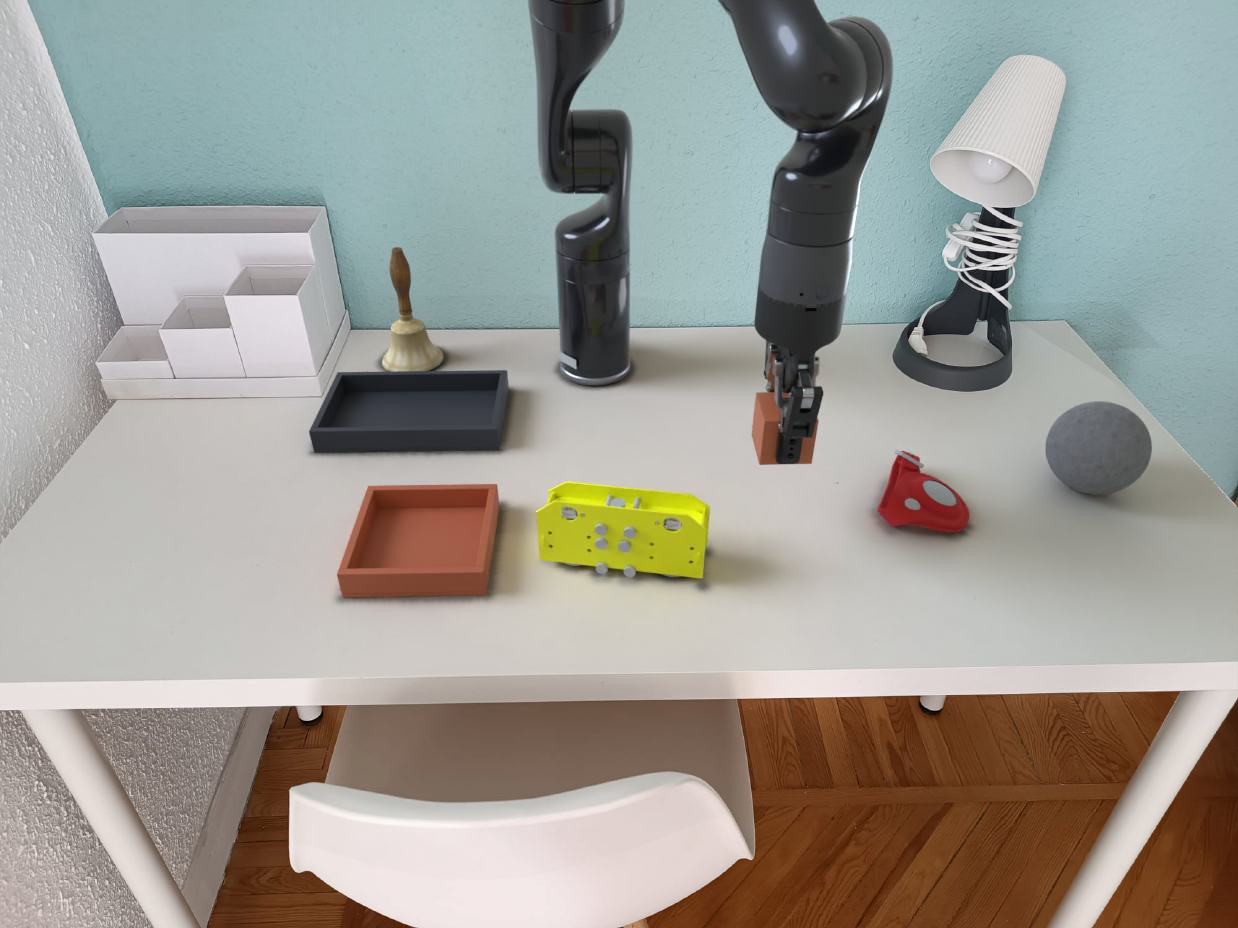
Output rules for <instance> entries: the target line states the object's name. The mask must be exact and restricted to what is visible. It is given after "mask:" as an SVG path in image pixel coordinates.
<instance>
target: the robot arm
mask: <svg viewBox="0 0 1238 928" xmlns="http://www.w3.org/2000/svg"><path fill="white" fill-rule="evenodd" d="M717 2H718V4H720V6H721V8H722V9H723V10H724V12H725V14H726V15H728V17H729V18H730V20H731V22H732V25H733V28H734V31H735V35H736V37H737V41H738V43H739V46H740V49H741V51H742V53H743V56H744V59H745V61H746V64H747V67H748V69H749V71H750V74H751V77H752V79H753V81H754V82H753V83H754V84H755V87H756V89H757V90H758V93H759V95H760V96H761V98H762V100H763V102H764V103H765V105H766V106H767V108H768V109H769V110H770V112H772V114H773V115H774V116H775V117H776V118H777V119H778V120H779V121H780V122H782V123H783V124H784V125H785V126H786V127H788V128H789V129H791V130H793V131H795V132H796V135H795V138H794V142H793V144H792V146H791V147H790V149H789V150H788V151H787V153H786V154H785V155H784V156H783V157H782V158H781V159H780V160H779V162H778V163H777V165H776V166H775V169H774V172H773V175H772V179H771V185H770V193H769V202H768V203H769V204H768V211H767V212H768V213H767V222H766V231H765V236H764V240H763V244H762V248H761V253H760V263H759V272H758V281H757V282H758V283H757V291H756V301H755V302H756V303H755V304H756V305H755V312H754V323H753V324H754V325H753V326H754V330H755V331H756V333H757V334H758V335H759V336H760V337H761V338H762V339H763V340H765V357H764V358H765V359H764V369H763V376H764V379H765V380H766V381H767V383H766V386H765V390H766V391H765V392H774V403H775V404H776V405H777V407H778V408H779V423H778V429H779V430H778V437H777V445H776V453H775V458H776V462H777V463H778V464H779V465H797V464H796V463H798V462H799V460H800V455H801V448H802V441H803V438H812V436H813V433H814V428H815V424H816V421H817V417H818V416H819V413H820V409H821V405H822V402H823V397H824V395H825V394H824V390H823V387H822V386H821V385H817V383H816V382H817V378H818V377H819V375H820V357H819V356H818V355H816V353H817V352H818V351H819V350H820V349H822V348H824V347H826V346H829V345H831V344H832V343H833V342H835V341H836V340H837V339H838V338H839V336H840V335H841V332H842V326H843V319H844V313H845V309H846V301H847V295H848V289H849V282H850V278H851V272H852V265H853V246H854V245H853V244H854V242H853V241H854V233H855V228H856V222H857V214H858V210H859V209H858V208H859V204H860V197H861V196H860V195H861V186H862V182H863V181H862V180H863V176H864V174H865V170H866V169H867V166H868V164H869V162H870V159H871V156H872V154H873V151H874V148H875V145H876V141H877V138H878V137H879V136H878V135H879V133H880V130H881V128H882V124H883V121H884V117H885V115H886V111H887V107H888V104H889V102H890V101H889V100H890V97H891V94H892V93H891V92H892V86H893V80H894V79H893V78H894V58H893V57H894V56H893V52H892V51H893V50H892V47H891V44H890V40H889V39H888V37H887V35H886V33H885V32H884V30H883V29H882V28H881V27H880V26H879V25H878V24H876V22H874V21H872V20H871V19H869V18H866V17H863V16H854V15H852V16H851V15H849V16H844V17H839V18H835V19H833V20H830V21H826V19H825V18H824V16H823V14H822V12H821V11H820V9H819V7H818V5H817V3H816V1H815V0H717ZM625 3H626V0H527V6H528V12H529V22H530V23H529V24H530V29H531V31H530V32H531V36H532V37H531V38H532V39H531V40H532V47H533V57H534V63H535V64H534V65H535V79H536V127H537V128H536V132H537V133H536V134H537V135H536V136H537V140H536V141H537V142H536V143H537V160H538V168H539V172H540V177H541V181H542V182H543V184H544V186H545V188H546V189H547V190H549V191H550V192H551V193H554V194H560V195H601V194H602V196H601V197H600V198H599V199H598V200H597V201H596V202H594V203H593V204H591V205H589V206H588V207H586V208H584V209H581V210H578V211H576V212H573V213H572V214H569V215H567V216H565V217H563V218H562V219H561V220H560V221H559V222H558V223H557V224H556V226H555V228H554V249H555V267H556V268H555V269H556V270H555V271H556V288H557V306H558V307H557V311H558V327H559V369H560V373H561V375H562V376H563V377H564V378H565V379H567V380H569V381H570V382H572V383H575V384H579V385H584V386H604V385H606V386H607V385H610V384H613V383H616V382H618V381H621V380H623V379H624V378H625V377H626V376H628V374H629V373H630V371H631V358H630V345H631V343H630V342H631V331H630V330H631V224H630V223H631V222H630V221H631V220H630V219H631V217H630V216H631V215H630V214H631V212H630V211H631V188H632V186H631V185H632V174H633V173H632V172H633V151H634V140H633V137H634V136H633V128H632V124H631V120H630V117H629V116H628V115H627V113H626V111H624V110H622V109H618V108H599V109H598V108H593V109H589V108H587V109H586V108H585V109H570V108H571V105H572V102H573V101H574V98H575V96H576V95H577V93H578V91H579V89H580V87H582V85H583V83H585V81H586V79H587V78H588V77H589V76H590V74H591V73H592V72H593V71H594V70H595V69H596V67H597V66H598V65H599V63H600V62H601V61H602V60H603V59H604V57H605V56H606V54H607V53H608V52H609V50H610V48H611V47H612V45H613V43H615V40H616V39H617V37H618V35H619V33H620V30H621V28H622V25H623V22H624V17H625V5H626V4H625ZM783 393H789V397H783Z"/></svg>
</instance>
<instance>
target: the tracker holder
mask: <svg viewBox="0 0 1238 928" xmlns="http://www.w3.org/2000/svg"><path fill="white" fill-rule="evenodd" d="M894 454H895V455H896V457H895V459H894V461H893V463H892V466H891V469H890V475H889V478H888V482H887V484H886V485H887V486H886V488H885V490H884V493H883V495H882V498H881V500H880V503H879V505H878V508H877V513H878V514H879V515H880V516H881V517H882V519H884V521H886V523H887V524H888V525H889V526H890V527H892V528H893V527H898V526H902V525H907V526H919V527H924V528H927V529H930V530H934V531H938V532H945V533H953V534H954V533H960V532H961V531H963V530H964V529H965V527H966V526H967V524H968V523H969V521H970V516H971V515H970V510H969V508H968V507H969V506H968V505H967V504H966V502H965V501H964V499H963V498H962V497H961V495H960V494H959V493H958V492H957V491H956V490H955V489H954V488H952V487H951V486H949V485H948V484H947V483H946V482H944V481H943V480H940V479H939V478H937V477H934V476H932V475H930V474H927V473H925V472H922V471H921V469H923V468H924V466H925V465H924V464H923V463H921V458H920V456H918V455H916V454H913V453H912V452H910V451H905V450H897V449H896V450H894ZM920 468H921V469H920Z"/></svg>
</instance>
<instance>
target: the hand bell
mask: <svg viewBox="0 0 1238 928" xmlns="http://www.w3.org/2000/svg"><path fill="white" fill-rule="evenodd" d="M411 274H412V273H411V266H410V264H409V261H408V259H407V257H406V255H405V253H404V251H403V248H402V247H400V246H395V247H392V248H391V255H390V260H389V276H390V279H391V284H392V286H393V288H394V290H395V292H396V296H397V305H398V313H399V315H398V317H399V319H397V320H396V321H394V322H392V324H391V326H390V336H391V337H390V345H389V348H388V351H386V352H385V353H384V355H383V356H382V359H381V361H382V362H381V365H382V367H383V368H384V369H385V370H386V371H387V372H396V371H433V370H434V369H436V368H437V367H439V366H440V365H441V364H442V363H443V361H444V357H445V356H444V355H445V354H444V353H443V350H441V349H440V348H439V347H438V346H437V345H435V344H434V343H433V342H432V341H431V339H430V336H429V335H428V331H427V329H426V325H425V323H424V321H423V320H421V319H420V318H417V317H414V316H413V308H412V303H411V302H412V301H411V298H410V289H411V284H412V275H411Z"/></svg>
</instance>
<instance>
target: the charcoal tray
mask: <svg viewBox="0 0 1238 928" xmlns="http://www.w3.org/2000/svg"><path fill="white" fill-rule="evenodd" d="M509 391H510V388H509V376H508V370H507V369H495V370H494V369H492V370H491V369H490V370H489V369H488V370H486V369H485V370H484V369H483V370H482V369H481V370H479V369H478V370H429V371H396V372H390V371H338V372H336V375H335V377H334V379H333V381H332V382H331V385H330V387H329V389H328V391H327V393H326V396H325V397H324V399H323V402H322V404H321V405H320V408H319V410H318V412H317V414H316V416H315V418H314V420H313V422H312V424H311V427H310V428H309V430H308V433H309V437H310V438H309V439H310V441H311V445H312V449H313V453H316V454H317V453H322V454H323V453H379V452H380V453H384V452H386V453H387V452H389V453H391V452H393V453H394V452H456V451H457V452H458V451H459V452H460V451H461V452H463V451H468V452H469V451H471V452H473V451H500V447H501V442H502V436H503V435H502V434H503V429H504V423H505V417H506V411H507V405H508V398H509Z"/></svg>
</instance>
